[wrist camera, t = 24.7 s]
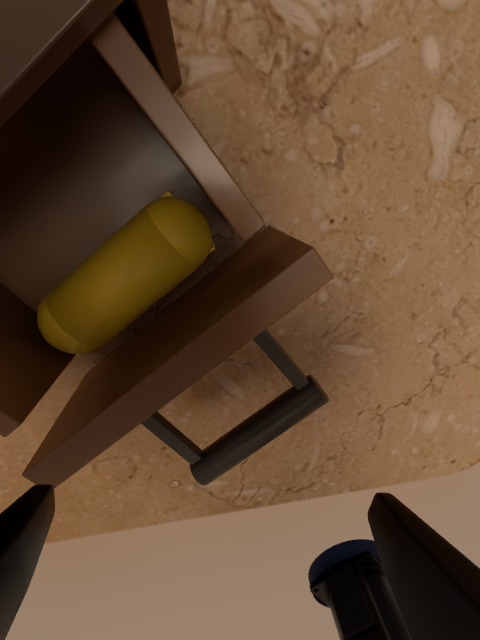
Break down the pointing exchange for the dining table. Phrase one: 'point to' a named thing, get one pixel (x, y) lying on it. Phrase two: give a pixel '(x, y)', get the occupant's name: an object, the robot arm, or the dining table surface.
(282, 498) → the dining table surface
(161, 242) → the yellow rounded block
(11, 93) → the cabinet
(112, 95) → the drawer
